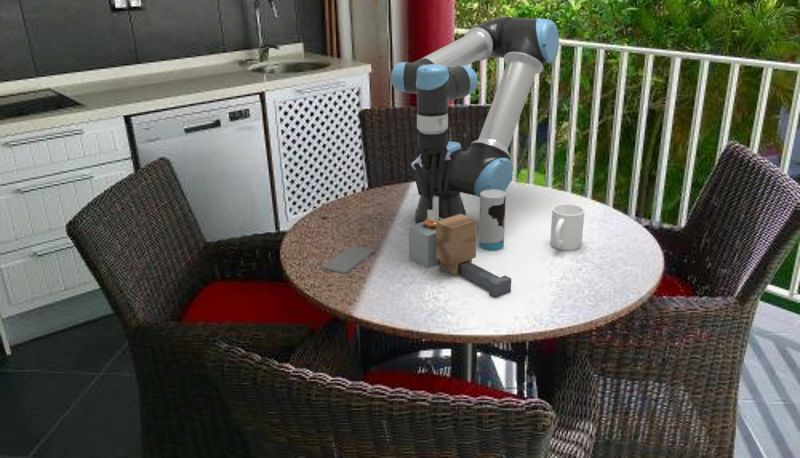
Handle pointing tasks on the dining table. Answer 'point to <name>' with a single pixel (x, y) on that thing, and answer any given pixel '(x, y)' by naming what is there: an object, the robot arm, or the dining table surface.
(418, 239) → the grey block with hole
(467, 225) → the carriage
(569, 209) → the mug
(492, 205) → the white printed can
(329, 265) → the smartphone
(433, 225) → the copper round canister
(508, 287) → the rail
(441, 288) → the dining table surface
